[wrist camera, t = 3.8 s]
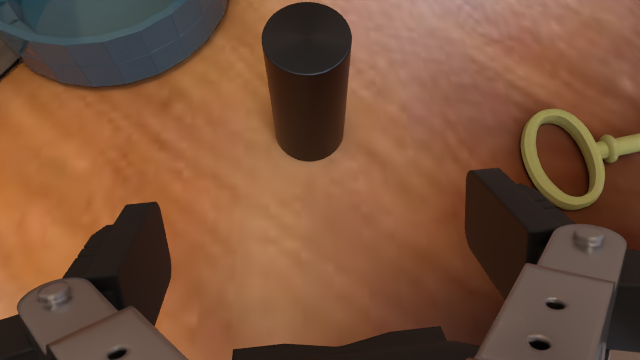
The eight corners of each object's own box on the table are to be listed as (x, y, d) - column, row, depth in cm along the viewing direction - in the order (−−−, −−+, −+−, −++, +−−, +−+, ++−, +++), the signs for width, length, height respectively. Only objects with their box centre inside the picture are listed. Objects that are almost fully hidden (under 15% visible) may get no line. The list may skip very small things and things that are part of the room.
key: (698, 143, 38) (719, 128, 36) (559, 223, 36) (573, 212, 34) (629, 68, 40) (645, 50, 39) (495, 138, 38) (504, 123, 36)
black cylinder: (278, 164, 37) (264, 79, 28) (273, 105, 39) (258, 5, 30) (347, 158, 38) (357, 70, 28) (339, 98, 39) (345, -3, 30)
